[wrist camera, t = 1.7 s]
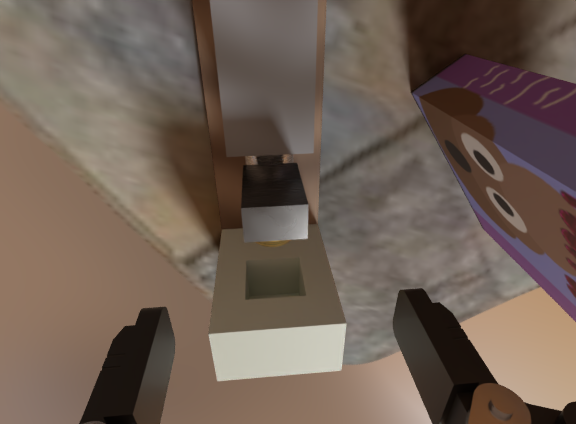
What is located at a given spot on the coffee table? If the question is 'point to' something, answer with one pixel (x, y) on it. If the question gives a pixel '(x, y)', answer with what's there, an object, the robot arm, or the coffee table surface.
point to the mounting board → (216, 128)
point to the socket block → (275, 309)
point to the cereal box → (513, 161)
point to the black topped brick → (273, 201)
